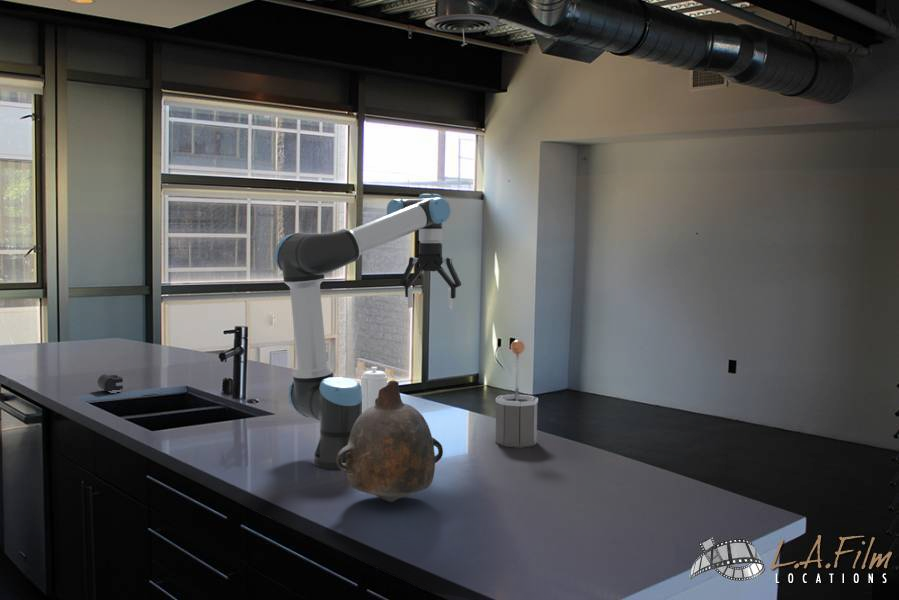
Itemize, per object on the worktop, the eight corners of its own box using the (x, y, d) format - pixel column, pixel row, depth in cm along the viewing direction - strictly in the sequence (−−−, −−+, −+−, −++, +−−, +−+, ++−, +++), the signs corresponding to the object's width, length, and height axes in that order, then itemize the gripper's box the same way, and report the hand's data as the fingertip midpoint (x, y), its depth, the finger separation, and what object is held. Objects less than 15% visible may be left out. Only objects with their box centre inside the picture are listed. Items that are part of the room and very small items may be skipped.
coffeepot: (347, 427, 276) (347, 372, 274) (369, 412, 300) (369, 361, 299) (378, 429, 274) (378, 373, 272) (398, 413, 298) (398, 362, 297)
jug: (392, 481, 215) (392, 367, 213) (456, 498, 202) (457, 377, 199) (321, 504, 196) (321, 379, 194) (387, 524, 183) (387, 391, 181)
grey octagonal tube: (531, 448, 250) (532, 403, 249) (491, 445, 254) (492, 400, 253) (542, 436, 265) (543, 393, 264) (504, 433, 269) (505, 391, 268)
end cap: (97, 391, 337) (97, 374, 336) (115, 389, 341) (115, 373, 341) (104, 395, 329) (104, 378, 328) (123, 393, 333) (122, 376, 333)
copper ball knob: (526, 411, 252) (528, 342, 250) (500, 409, 254) (501, 341, 253) (532, 405, 260) (533, 339, 258) (506, 403, 262) (507, 338, 261)
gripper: (470, 242, 266) (470, 308, 268) (397, 242, 273) (397, 305, 274) (464, 242, 259) (464, 310, 260) (390, 242, 266) (389, 307, 267)
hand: (430, 308), depth 267 cm, fingers open, 13 cm apart
